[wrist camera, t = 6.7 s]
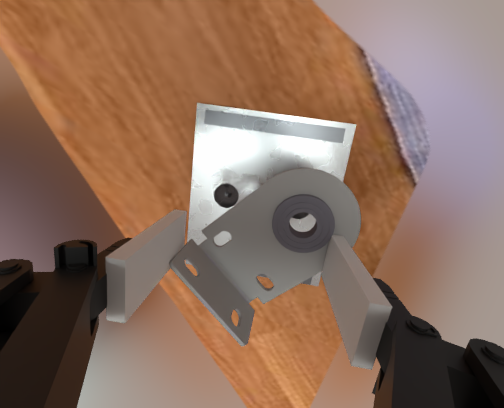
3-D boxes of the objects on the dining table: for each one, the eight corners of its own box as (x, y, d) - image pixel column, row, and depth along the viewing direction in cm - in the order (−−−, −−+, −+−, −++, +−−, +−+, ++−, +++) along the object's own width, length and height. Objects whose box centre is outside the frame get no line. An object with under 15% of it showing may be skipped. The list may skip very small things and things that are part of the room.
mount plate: (200, 104, 23) (194, 101, 22) (352, 124, 23) (359, 124, 21) (188, 259, 28) (182, 267, 26) (316, 280, 27) (319, 290, 25)
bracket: (377, 229, 16) (404, 254, 12) (250, 310, 18) (243, 349, 15) (314, 143, 15) (325, 144, 11) (188, 239, 17) (167, 264, 14)
